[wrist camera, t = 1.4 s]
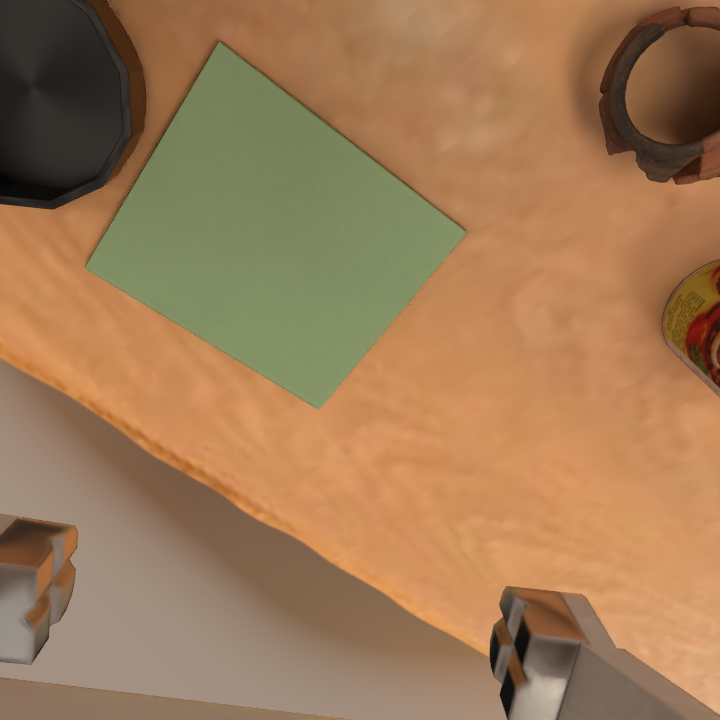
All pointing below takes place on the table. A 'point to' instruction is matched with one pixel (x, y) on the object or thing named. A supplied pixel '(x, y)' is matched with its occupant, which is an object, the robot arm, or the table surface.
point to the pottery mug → (621, 135)
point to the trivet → (271, 233)
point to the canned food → (697, 324)
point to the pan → (65, 100)
